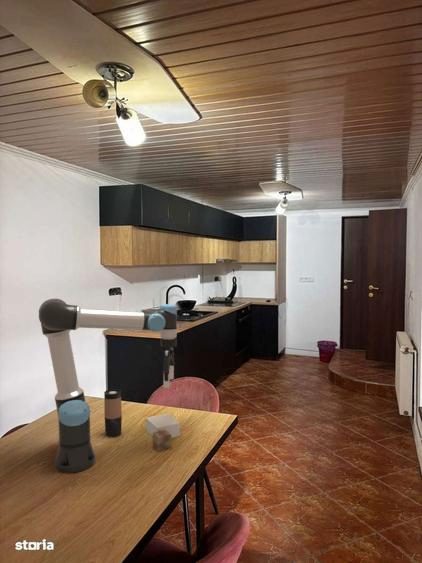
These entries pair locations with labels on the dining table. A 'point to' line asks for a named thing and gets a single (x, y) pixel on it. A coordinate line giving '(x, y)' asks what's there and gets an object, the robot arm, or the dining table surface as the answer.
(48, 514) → the dining table surface
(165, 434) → the walnut cube
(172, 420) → the white block
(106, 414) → the travel mug
